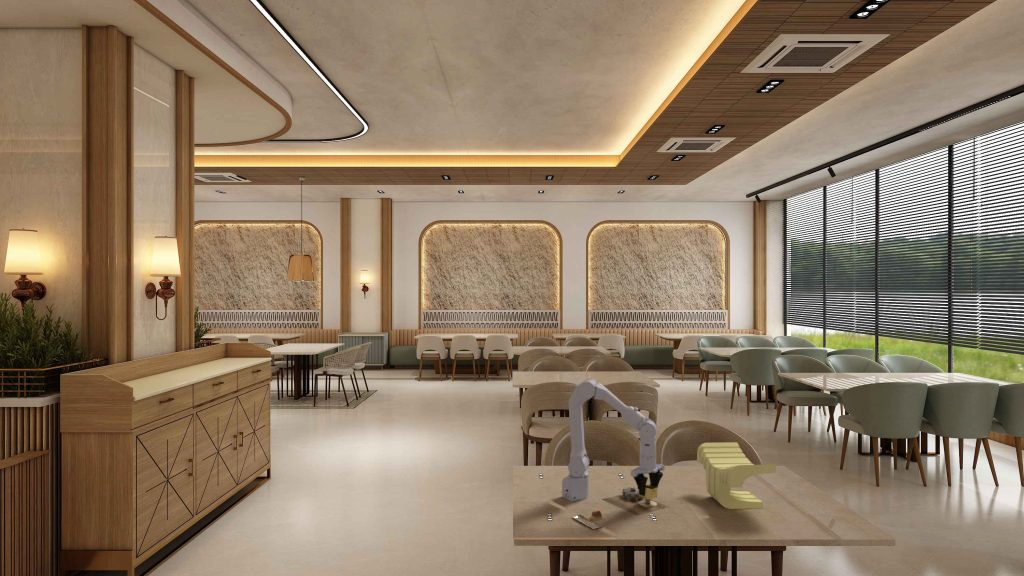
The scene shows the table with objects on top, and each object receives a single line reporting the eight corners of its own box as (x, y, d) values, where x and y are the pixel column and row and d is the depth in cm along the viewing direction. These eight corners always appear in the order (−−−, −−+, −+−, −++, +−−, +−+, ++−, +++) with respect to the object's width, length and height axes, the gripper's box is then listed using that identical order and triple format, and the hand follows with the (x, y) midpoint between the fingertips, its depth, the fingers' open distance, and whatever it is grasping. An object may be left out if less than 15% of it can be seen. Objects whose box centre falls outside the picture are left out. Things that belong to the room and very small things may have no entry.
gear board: (636, 518, 201) (636, 503, 201) (601, 502, 216) (601, 488, 216) (668, 509, 209) (668, 495, 209) (632, 494, 224) (632, 481, 224)
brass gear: (648, 499, 209) (648, 489, 209) (637, 495, 213) (637, 485, 213) (658, 497, 211) (658, 487, 211) (648, 493, 215) (648, 483, 215)
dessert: (622, 525, 196) (622, 510, 197) (593, 532, 191) (593, 517, 191) (599, 513, 207) (599, 499, 207) (571, 519, 201) (571, 505, 201)
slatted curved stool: (697, 488, 231) (697, 442, 232) (737, 488, 232) (737, 442, 233) (729, 518, 202) (729, 465, 202) (775, 517, 202) (775, 464, 203)
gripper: (640, 460, 205) (640, 500, 205) (670, 454, 213) (670, 493, 213) (626, 456, 211) (626, 494, 211) (656, 450, 219) (656, 487, 219)
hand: (647, 493), depth 212 cm, fingers closed on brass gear, 5 cm apart
